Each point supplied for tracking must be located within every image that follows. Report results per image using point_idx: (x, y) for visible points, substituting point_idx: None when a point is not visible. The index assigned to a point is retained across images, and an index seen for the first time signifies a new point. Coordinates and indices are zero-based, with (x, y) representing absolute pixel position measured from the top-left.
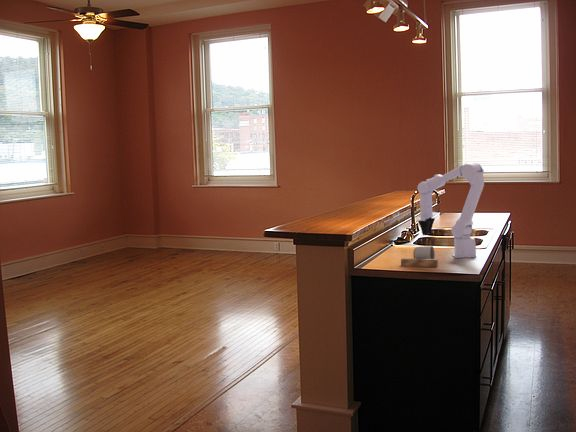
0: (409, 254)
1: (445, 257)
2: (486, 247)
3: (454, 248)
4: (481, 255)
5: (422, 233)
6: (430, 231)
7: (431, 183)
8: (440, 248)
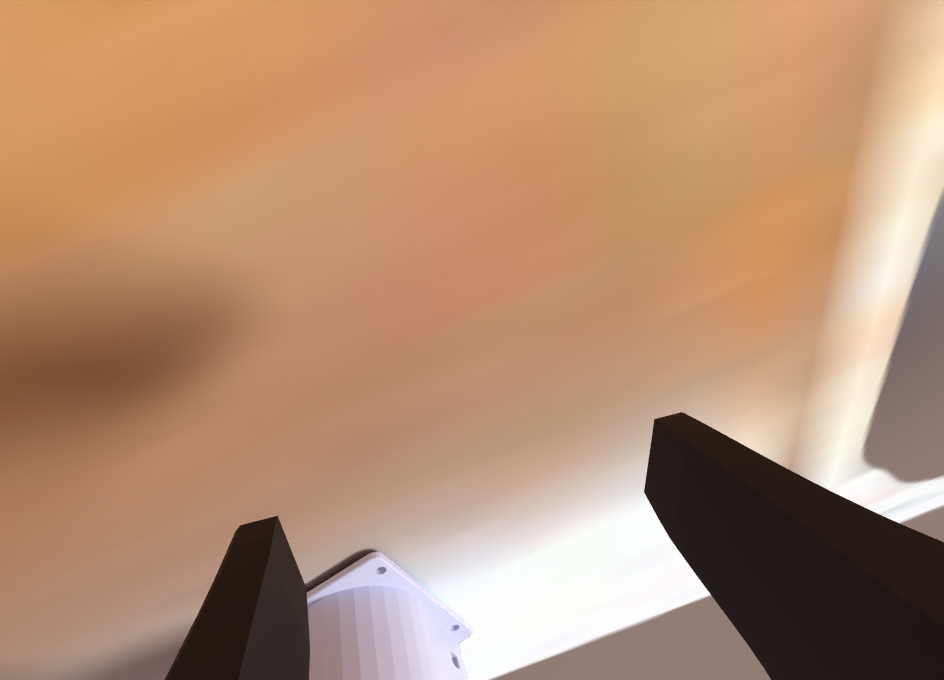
0: (265, 9)
1: None
2: None
3: (320, 674)
4: None
5: (225, 560)
6: (667, 516)
7: None
8: (828, 256)
